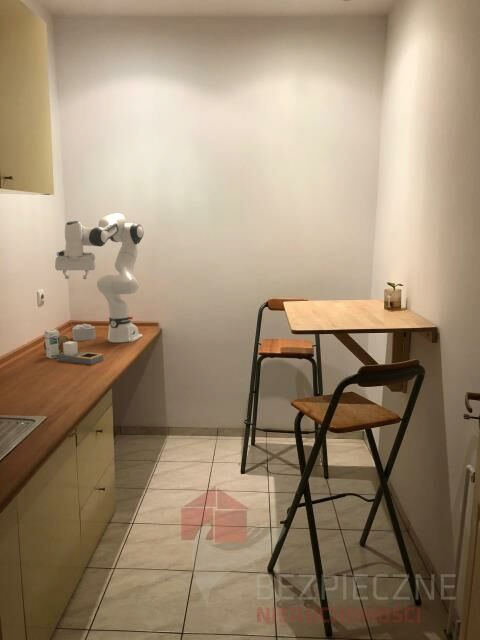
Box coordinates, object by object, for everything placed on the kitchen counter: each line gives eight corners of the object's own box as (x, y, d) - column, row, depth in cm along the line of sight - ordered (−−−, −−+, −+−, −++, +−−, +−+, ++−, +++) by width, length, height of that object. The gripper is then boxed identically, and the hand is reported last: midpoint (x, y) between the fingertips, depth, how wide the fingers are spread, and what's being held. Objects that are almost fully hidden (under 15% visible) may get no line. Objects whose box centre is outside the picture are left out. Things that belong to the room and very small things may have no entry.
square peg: (70, 357, 282) (69, 341, 280) (78, 358, 280) (77, 341, 278) (64, 360, 278) (62, 343, 276) (71, 360, 275) (70, 344, 274)
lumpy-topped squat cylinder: (75, 337, 330) (74, 323, 329) (96, 336, 332) (95, 322, 330) (72, 341, 320) (71, 326, 318) (94, 340, 322) (93, 326, 320)
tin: (46, 354, 289) (45, 339, 287) (43, 353, 290) (42, 338, 289) (70, 349, 300) (69, 334, 299) (66, 348, 302) (65, 333, 301)
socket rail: (70, 356, 285) (70, 350, 285) (103, 360, 276) (103, 354, 276) (57, 360, 276) (56, 354, 276) (90, 365, 267) (90, 358, 267)
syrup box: (50, 359, 280) (48, 331, 277) (46, 356, 284) (44, 330, 281) (61, 357, 283) (59, 330, 280) (56, 355, 288) (54, 328, 285)
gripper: (96, 252, 282) (97, 278, 285) (57, 252, 282) (58, 278, 284) (93, 252, 276) (94, 279, 278) (53, 252, 276) (54, 279, 278)
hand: (76, 278), depth 281 cm, fingers open, 8 cm apart
